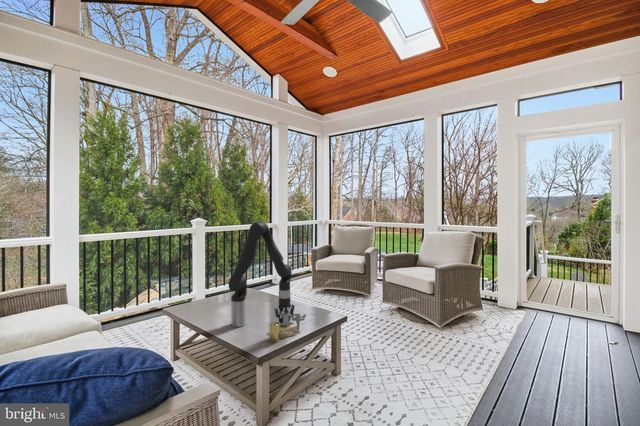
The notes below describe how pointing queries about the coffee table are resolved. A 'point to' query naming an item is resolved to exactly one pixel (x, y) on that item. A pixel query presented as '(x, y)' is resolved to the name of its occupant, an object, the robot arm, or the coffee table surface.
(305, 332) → the coffee table surface
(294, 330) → the socket block
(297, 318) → the mechanical component
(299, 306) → the coffee table surface
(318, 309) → the coffee table surface
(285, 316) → the bar
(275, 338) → the round brass bit
